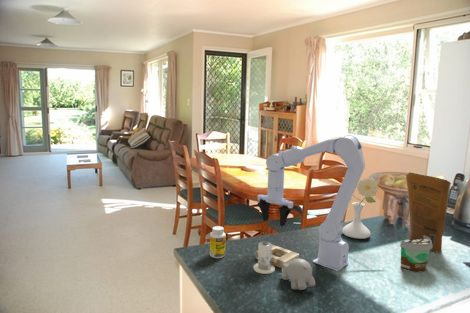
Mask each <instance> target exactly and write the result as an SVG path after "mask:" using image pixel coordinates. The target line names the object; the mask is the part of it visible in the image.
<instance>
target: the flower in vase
mask: <svg viewBox="0 0 470 313" xmlns="http://www.w3.org/2000/svg"><path fill="white" fill-rule="evenodd" d="M379 188H380V187H379V186H378V183H377V181H376V180H374V179H372V178H369V177H367V178H364V179H360V180H359V182H358V184H357V187H356V189H357V192H358V194H359V195H360V196H362V197H363V198H362V200H361V199H360V198H359V197H356V196H354V198H355V199H356V200H358V201H357V202H356V201H354V202H352V203H351V204H352V206H353V208H354V209H353V210H354V216H353V217H354V218H353V221H352V222H350V223H348V224H346V225H344V226H343V228H342V230H341V232H342V234H343V235H344V236H346V237H349V238H352V239H357V240H359V239H360V240H362V239H368V238H369V237H371V235H372V234H371V231H370V229H369V228H367V226H366V225H364V224H363V223H362V221H361V214H362V210H363V207H365V205H366V204H365V203H364V202H363V201H364V200H365V201H366V202H367V203H368V204H372V203H373V204H374V203H376V202H377V201H376V199H375V198H374V196H377V193H378V191H379ZM359 201H360V202H359Z"/></svg>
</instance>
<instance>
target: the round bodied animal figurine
mask: <svg viewBox="0 0 470 313" xmlns="http://www.w3.org/2000/svg"><path fill="white" fill-rule="evenodd" d="M282 266H283V268H281V278H282V280H285V281H288V280H290V281H291V282H290V287H291V290H295V291H297V290H299V291H303V290H306V289H307V287H309V288H311V287H315V285H316V281H315V278H314V277H313V268H312V266H311V264H310V262H308V261H307V260H305V259H303V258H299V259H294V260H292V261H291V262H290V263H289V264H287V265H285V264H283V263H282Z"/></svg>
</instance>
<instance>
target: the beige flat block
mask: <svg viewBox="0 0 470 313" xmlns="http://www.w3.org/2000/svg"><path fill="white" fill-rule="evenodd" d="M300 256H301V255H300V253H298V252H295V251H292V250H289V249H286V248H283V247H281V246H278V245H274V244H272V259H271V265H273V266H274V267H277V268H280V269H282V268H283V266H282V263H283V264H285V265H287V264H289V263H290V262H291V261H292V260H294V259H300ZM255 259H257V260H258V250H256V251H255Z"/></svg>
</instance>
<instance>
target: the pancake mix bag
mask: <svg viewBox="0 0 470 313" xmlns="http://www.w3.org/2000/svg"><path fill="white" fill-rule="evenodd" d="M405 182H406V188H407V198H408V200H407V201H408V211H409V212H408V213H409V225H410V232H409V237H408V241H410V240H412V239H421V238H423V235H424V236H427V237H428V238H430V239H431V242H432V246H433V248H432V249H431V250H430V251H431V252H435V253H443V251H442V250H443V249H442V246H443V245H442V244H443V234H444V228H445V223H446V222H445V221H446V217H447V209H448V201H449V198H450V188H451V184H452V183H451V181H449V180H447V179H444V178H439V177H436V176H430V175H424V174H419V173H414V172H411V171H409V172H408V173H406V174H405ZM430 251H429V252H430Z"/></svg>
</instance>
